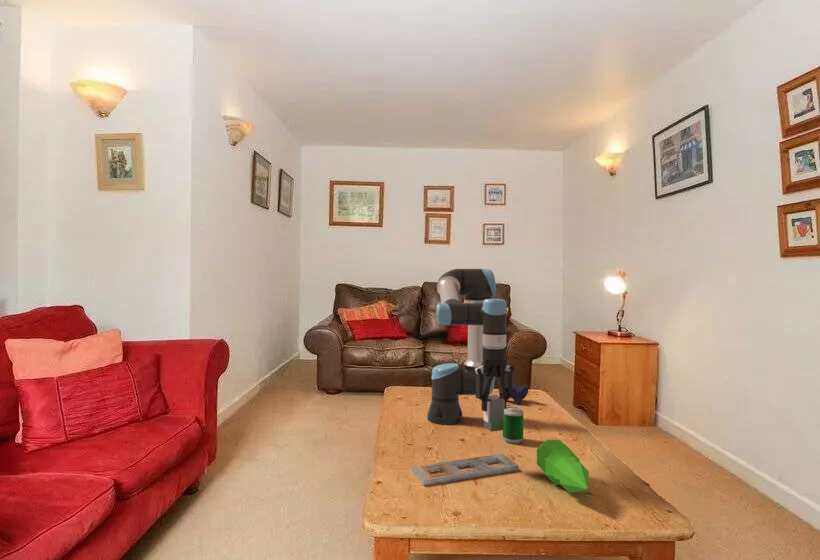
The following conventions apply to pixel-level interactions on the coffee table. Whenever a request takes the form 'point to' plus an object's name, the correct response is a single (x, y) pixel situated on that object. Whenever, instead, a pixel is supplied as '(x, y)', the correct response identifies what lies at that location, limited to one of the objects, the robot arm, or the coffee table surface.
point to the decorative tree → (562, 466)
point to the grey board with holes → (455, 474)
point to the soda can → (513, 425)
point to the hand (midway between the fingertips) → (493, 419)
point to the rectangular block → (495, 414)
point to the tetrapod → (518, 392)
